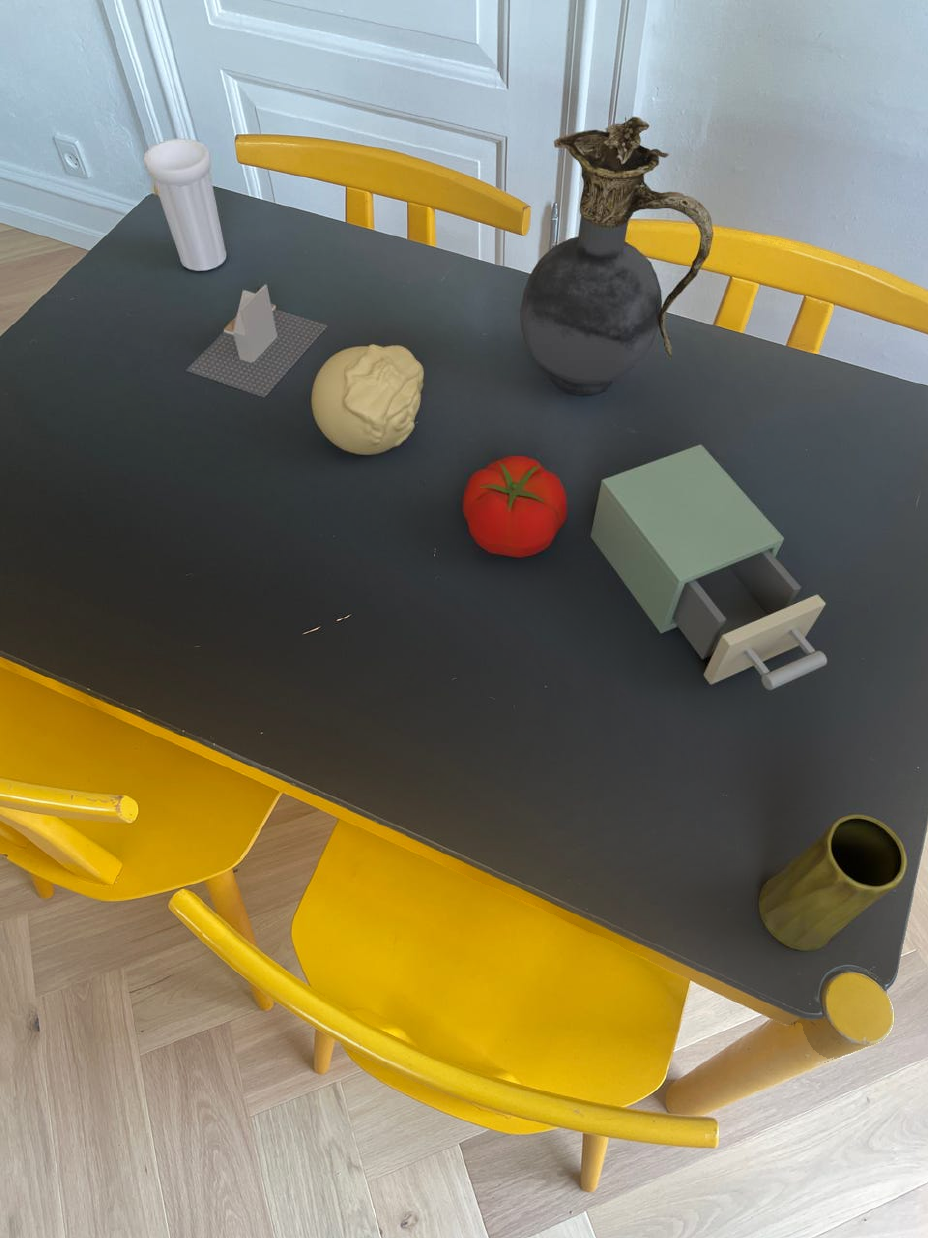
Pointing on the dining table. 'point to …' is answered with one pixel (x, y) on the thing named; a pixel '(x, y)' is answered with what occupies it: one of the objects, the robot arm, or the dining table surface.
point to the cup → (188, 200)
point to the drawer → (749, 620)
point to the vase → (832, 882)
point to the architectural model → (257, 345)
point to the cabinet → (676, 527)
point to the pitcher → (604, 268)
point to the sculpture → (368, 398)
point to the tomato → (514, 507)
